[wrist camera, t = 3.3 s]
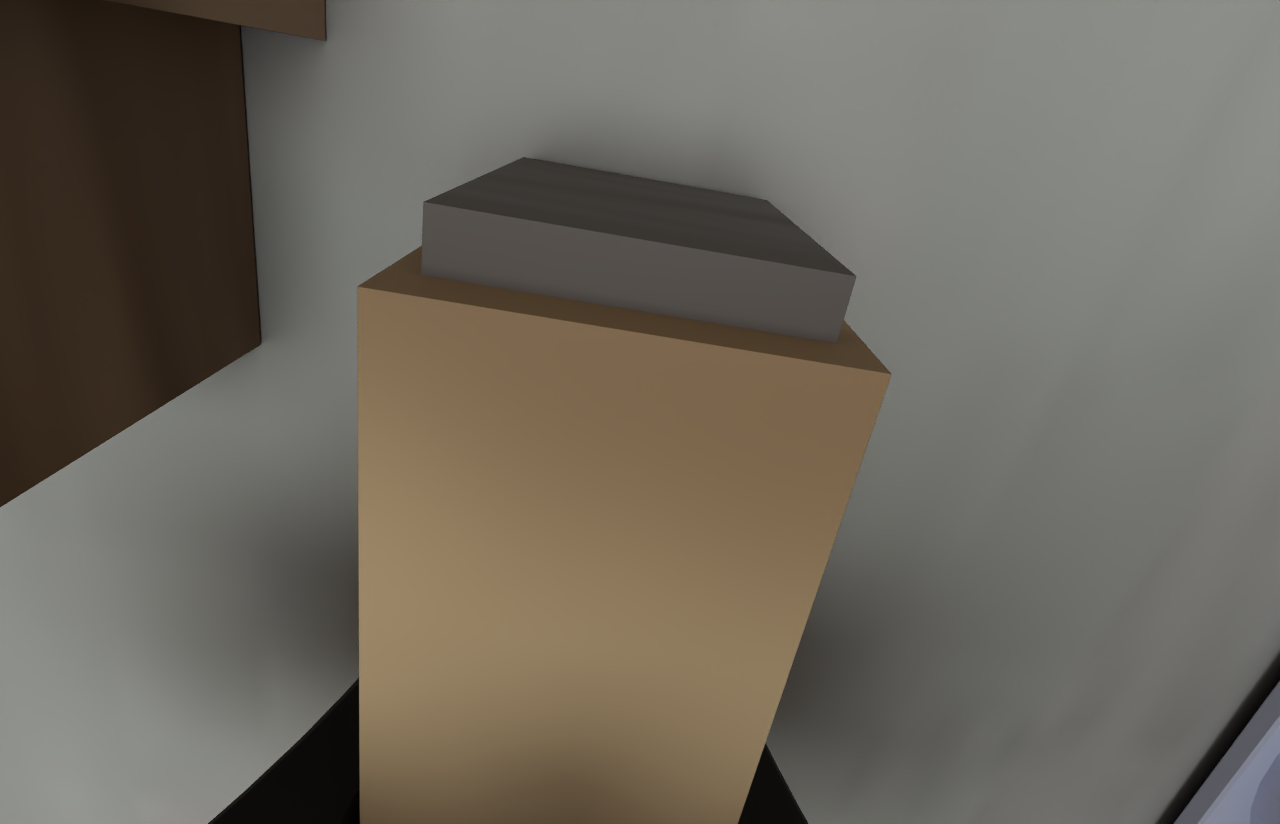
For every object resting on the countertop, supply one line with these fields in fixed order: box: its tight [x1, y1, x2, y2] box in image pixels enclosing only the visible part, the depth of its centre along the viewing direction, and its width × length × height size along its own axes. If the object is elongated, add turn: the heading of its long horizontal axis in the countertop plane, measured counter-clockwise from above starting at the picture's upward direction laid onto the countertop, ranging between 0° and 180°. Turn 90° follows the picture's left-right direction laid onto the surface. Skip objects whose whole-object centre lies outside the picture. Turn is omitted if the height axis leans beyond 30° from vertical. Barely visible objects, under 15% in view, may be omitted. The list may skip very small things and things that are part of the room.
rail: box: [357, 157, 891, 824], centre depth 9 cm, size 14×4×5 cm, turn 171°
